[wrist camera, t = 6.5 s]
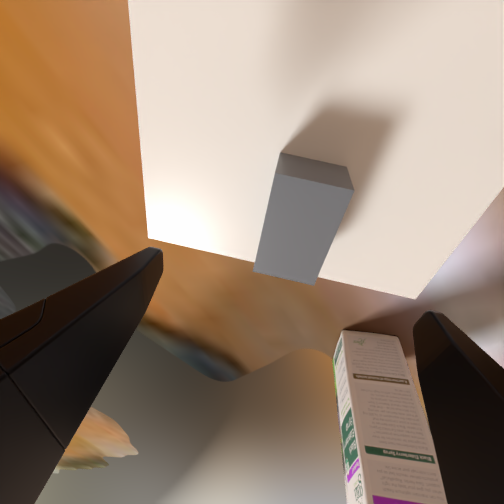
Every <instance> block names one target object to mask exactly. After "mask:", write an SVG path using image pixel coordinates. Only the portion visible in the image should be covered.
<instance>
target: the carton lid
mask: <svg viewBox="0 0 504 504" xmlns="http://www.w3.org/2000/svg"><path fill="white" fill-rule="evenodd" d="M128 5H129V17H130V29H131V41H132V52H133V64H134V76H135V87H136V99H137V111H138V122H139V134H140V146H141V158H142V169H143V181H144V193H145V204H146V216H147V228H148V238H152V239H156V240H160V241H165V242H169V243H173V244H178V245H182V246H186V247H191V248H195V249H199V250H204V251H208V252H212V253H217V254H221V255H225V256H230V257H234V258H238V259H243V260H247V261H251V262H255V264H254V268H253V272H258V273H262V274H266V275H271V276H275V277H279V278H283V279H288V280H292V281H296V282H301V283H305V284H309V285H314V284H315V282H316V279H317V277H321V278H325V279H329V280H334V281H338V282H342V283H347V284H351V285H355V286H360V287H364V288H368V289H373V290H377V291H381V292H386V293H390V294H394V295H399V296H403V297H407V298H412V299H416V298H417V297H418V295H419V294H420V293H421V292H422V290H423V289H424V288H425V286H426V285H427V284H428V283H429V281H430V280H431V279H432V278H433V276H434V275H435V274H436V272H437V271H438V270H439V269H440V267H441V266H442V265H443V264H444V262H445V261H446V260H447V259H448V257H449V256H450V255H451V253H452V252H453V251H454V250H455V248H456V247H457V246H458V245H459V243H460V242H461V241H462V239H463V238H464V237H465V236H466V234H467V233H468V232H469V231H470V229H471V228H472V227H473V225H474V224H475V223H476V222H477V220H478V219H479V218H480V217H481V215H482V214H483V213H484V211H485V210H486V209H487V208H488V206H489V205H490V204H491V203H492V201H493V200H494V199H495V197H496V196H497V195H498V194H499V192H500V191H501V190H502V189H503V187H504V0H128Z"/></svg>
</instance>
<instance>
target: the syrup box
mask: <svg viewBox="0 0 504 504" xmlns="http://www.w3.org/2000/svg"><path fill="white" fill-rule="evenodd" d="M333 370H334V380H335V390H336V399H337V410H338V420H339V429H340V440H341V449H342V458H343V468H344V478H345V486H346V497H347V504H447V500H446V495H445V491H444V487H443V482H442V478H441V474H440V469H439V465H438V461H437V456H436V452H435V448H434V443H433V439H432V436H431V433H430V430H429V427H428V424H427V421H426V418H425V415H424V412H423V409H422V406H421V403H420V400H419V397H418V394H417V391H416V388H415V386H414V383H413V380H412V377H411V374H410V371H409V368H408V364H407V362H406V359H405V356H404V353H403V350H402V347H401V344H400V341H399V338H398V337H396V336H390V335H384V334H377V333H368V332H359V331H348V330H342V332H341V335H340V338H339V341H338V344H337V347H336V350H335V354H334V358H333Z"/></svg>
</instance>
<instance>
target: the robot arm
mask: <svg viewBox="0 0 504 504" xmlns="http://www.w3.org/2000/svg"><path fill="white" fill-rule="evenodd" d="M162 273H163V252H162V250H161V249H159V248H154V247H148V248H146V249H144V250H142V251H140V252H138V253H136V254H134V255H132V256H130V257H128V258H126V259H124V260H122V261H119V262H117V263H115V264H113V265H111V266H109V267H107V268H105V269H103V270H101V271H99V272H97V273H95V274H93V275H91V276H89V277H87V278H85V279H83V280H81V281H79V282H77V283H75V284H73V285H71V286H69V287H67V288H65V289H63V290H61V291H59V292H57V293H55V294H53V295H51V296H49V297H47V298H46V299H42V300H40V301H39V302H36V303H34V304H32V305H30V306H28V307H26V308H24V309H22V310H20V311H17V312H15V313H13V314H11V315H9V316H7V317H4V318H2V319H0V504H34V503H35V502H36V500H37V498H38V497H39V495H40V493H41V491H42V490H43V488H44V486H45V485H46V483H47V481H48V479H49V478H50V476H51V474H52V473H53V471H54V469H55V467H56V466H57V464H58V462H59V460H60V459H61V457H62V455H63V454H64V452H65V449H66V448H67V446H68V445H69V443H70V441H71V440H72V438H73V436H74V434H75V433H76V431H77V429H78V427H79V426H80V424H81V422H82V421H83V419H84V417H85V415H86V414H87V412H88V410H89V409H90V407H91V405H92V403H93V402H94V400H95V398H96V396H97V395H98V393H99V391H100V390H101V388H102V386H103V384H104V383H105V381H106V379H107V377H108V376H109V374H110V372H111V371H112V369H113V367H114V366H115V364H116V362H117V360H118V359H119V357H120V355H121V353H122V352H123V350H124V348H125V347H126V345H127V343H128V341H129V340H130V338H131V336H132V335H133V333H134V331H135V329H136V328H137V326H138V324H139V323H140V321H141V319H142V317H143V316H144V314H145V312H146V310H147V308H148V305H149V303H150V301H151V298H152V296H153V294H154V292H155V289H156V287H157V285H158V282H159V280H160V278H161V275H162ZM413 338H414V347H415V355H416V364H417V371H418V377H419V382H420V387H421V391H422V395H423V400H424V404H425V408H426V413H427V417H428V421H429V426H430V430H431V435H432V439H433V443H434V448H435V452H436V456H437V461H438V465H439V469H440V474H441V478H442V482H443V487H444V491H445V495H446V500H447V504H504V369H503V368H502V367H501V366H500V365H499V364H498V363H497V362H496V361H495V360H493V359H492V358H491V357H490V356H489V355H488V354H487V353H486V352H485V351H483V350H482V349H481V348H480V347H479V346H478V345H477V344H476V343H475V342H473V341H472V340H471V339H470V338H469V337H468V336H467V335H466V334H465V333H464V332H462V331H461V330H460V329H459V328H458V327H457V326H456V325H455V324H454V323H452V322H451V321H450V320H449V319H448V318H447V317H446V316H445V315H444V314H442V313H440V312H435V311H431V310H428V311H426V312H425V313H424V314H423V315H422V316H421V318H420V319H419V320H418V321H417V322H416V324H415V325H414V327H413Z"/></svg>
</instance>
